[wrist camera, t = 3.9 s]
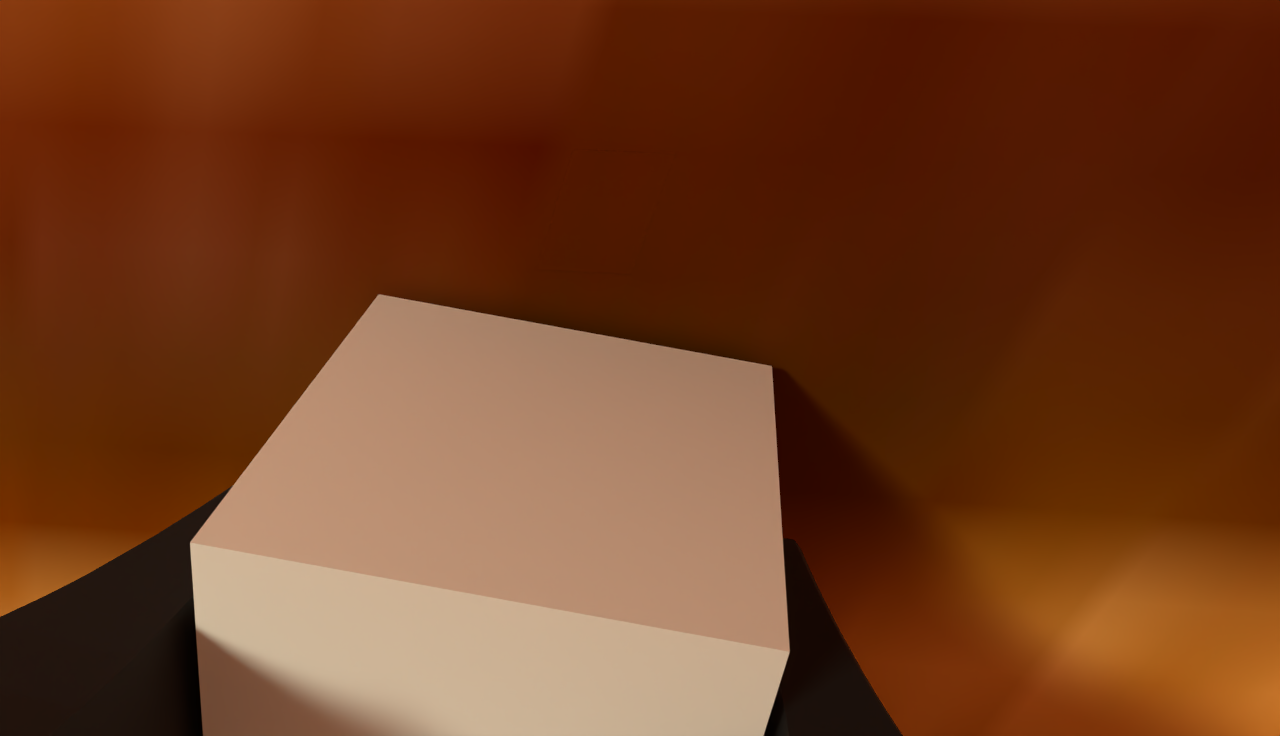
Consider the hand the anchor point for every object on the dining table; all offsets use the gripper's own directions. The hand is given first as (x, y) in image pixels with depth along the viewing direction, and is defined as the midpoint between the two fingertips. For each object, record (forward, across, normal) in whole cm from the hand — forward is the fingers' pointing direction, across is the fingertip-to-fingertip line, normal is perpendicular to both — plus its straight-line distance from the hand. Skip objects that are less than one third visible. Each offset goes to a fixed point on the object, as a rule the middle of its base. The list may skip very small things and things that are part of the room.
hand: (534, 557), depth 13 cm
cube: (+1, 0, 0) cm, 1 cm away
